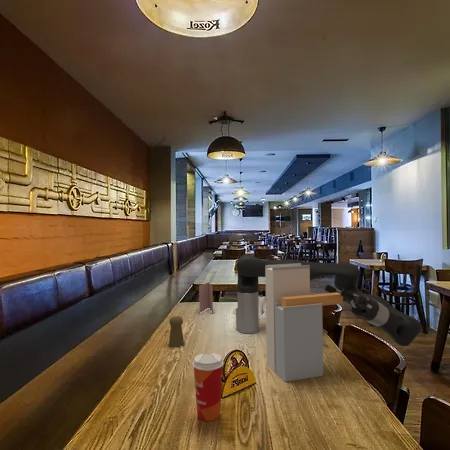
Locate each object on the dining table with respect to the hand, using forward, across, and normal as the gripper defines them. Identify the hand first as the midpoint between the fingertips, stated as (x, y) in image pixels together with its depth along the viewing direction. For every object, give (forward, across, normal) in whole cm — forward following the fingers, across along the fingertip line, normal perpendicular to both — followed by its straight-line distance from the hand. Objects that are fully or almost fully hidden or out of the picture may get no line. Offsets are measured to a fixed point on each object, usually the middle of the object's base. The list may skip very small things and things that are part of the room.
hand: (333, 289), depth 107 cm
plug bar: (+4, 0, +8) cm, 9 cm away
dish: (-15, -71, +22) cm, 76 cm away
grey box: (-2, 0, +28) cm, 28 cm away
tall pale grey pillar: (-2, -7, +28) cm, 29 cm away
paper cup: (+26, +12, +44) cm, 53 cm away
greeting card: (+5, -81, +33) cm, 87 cm away
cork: (+26, -38, +45) cm, 64 cm away
